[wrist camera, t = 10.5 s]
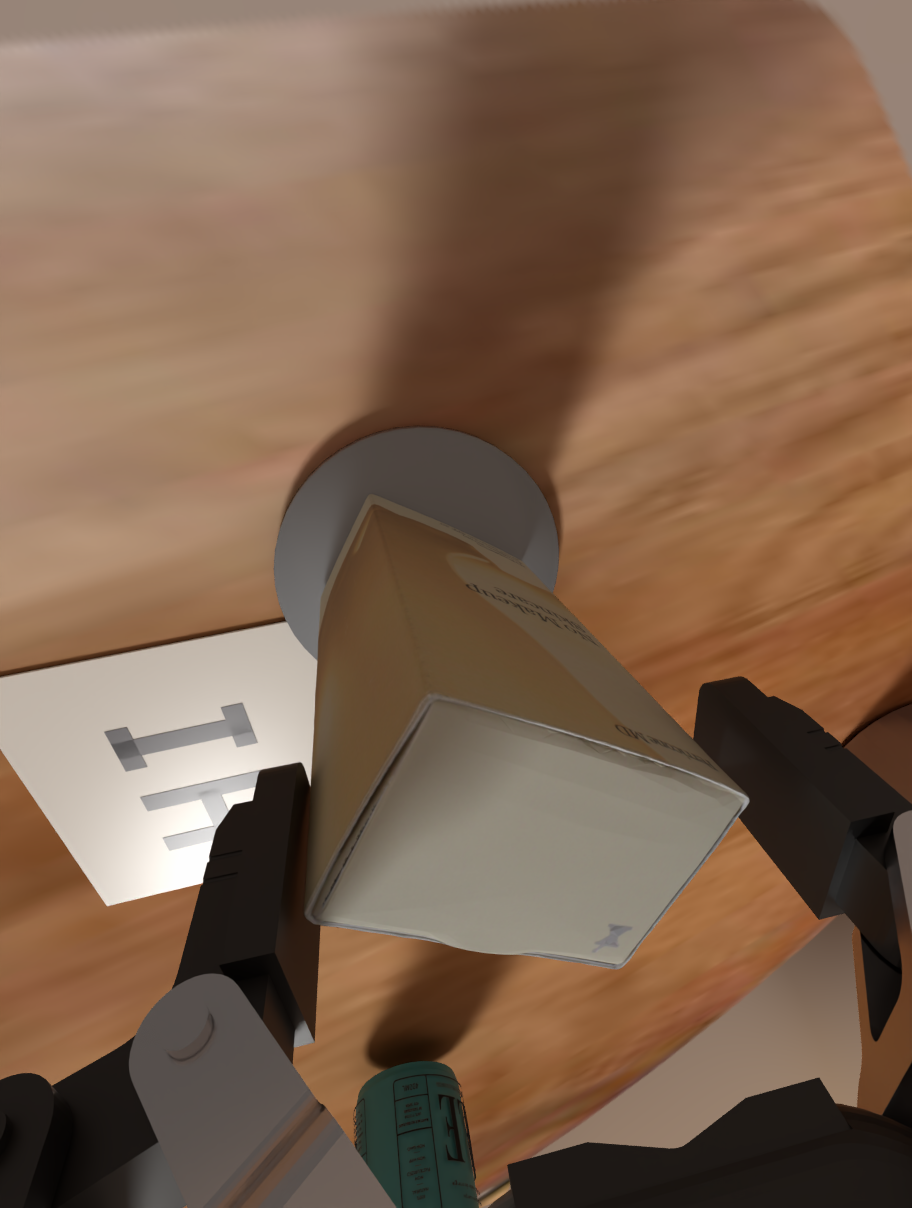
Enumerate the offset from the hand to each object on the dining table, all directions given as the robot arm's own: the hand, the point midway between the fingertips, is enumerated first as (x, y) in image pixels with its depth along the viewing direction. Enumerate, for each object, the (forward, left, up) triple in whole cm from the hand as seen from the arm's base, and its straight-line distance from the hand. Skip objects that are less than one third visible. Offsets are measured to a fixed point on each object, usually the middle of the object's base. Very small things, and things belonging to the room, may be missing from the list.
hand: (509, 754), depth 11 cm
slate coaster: (0, 0, -10) cm, 10 cm away
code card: (+10, +7, -10) cm, 16 cm away
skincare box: (+1, 0, -10) cm, 10 cm away
